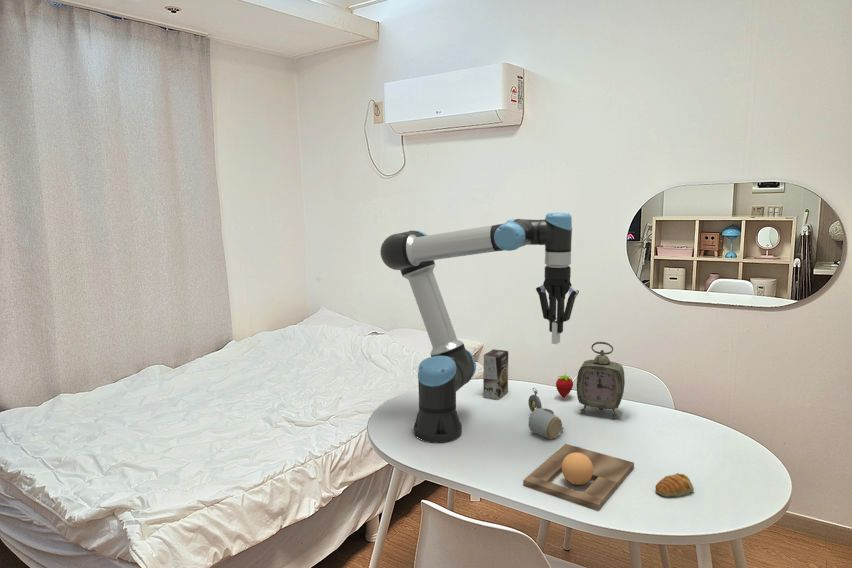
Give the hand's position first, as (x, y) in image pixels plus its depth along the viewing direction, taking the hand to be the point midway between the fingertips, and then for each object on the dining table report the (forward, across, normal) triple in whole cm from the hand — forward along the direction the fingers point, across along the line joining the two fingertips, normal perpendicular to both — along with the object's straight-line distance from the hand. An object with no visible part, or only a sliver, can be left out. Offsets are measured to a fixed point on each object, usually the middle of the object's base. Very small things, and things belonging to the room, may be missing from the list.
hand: (555, 342), depth 175 cm
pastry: (+30, -39, +13) cm, 51 cm away
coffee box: (+30, +32, -19) cm, 48 cm away
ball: (+25, -18, +24) cm, 39 cm away
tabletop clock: (+30, -6, -24) cm, 39 cm away
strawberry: (+30, +10, -30) cm, 43 cm away
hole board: (+29, -17, +20) cm, 39 cm away
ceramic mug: (+30, +2, +1) cm, 30 cm away
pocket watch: (+30, +10, -11) cm, 33 cm away
